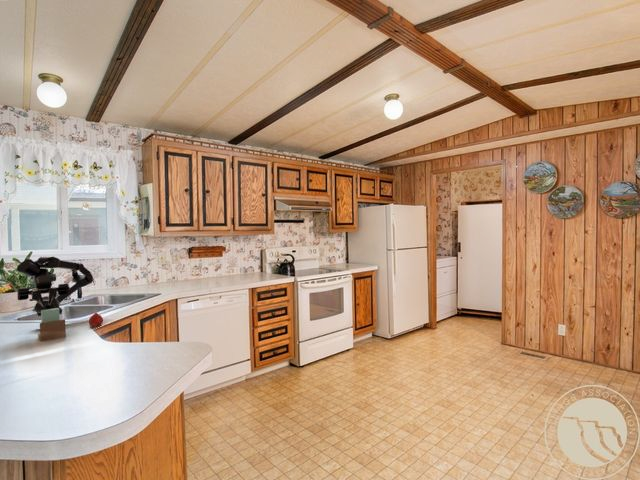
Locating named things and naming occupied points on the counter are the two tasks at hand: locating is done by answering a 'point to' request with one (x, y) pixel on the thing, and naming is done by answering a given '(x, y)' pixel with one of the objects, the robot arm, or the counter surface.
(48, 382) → the counter surface
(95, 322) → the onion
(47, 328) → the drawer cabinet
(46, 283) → the robot arm
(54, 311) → the green rectangular block
